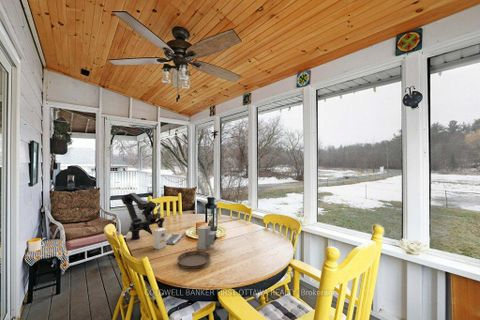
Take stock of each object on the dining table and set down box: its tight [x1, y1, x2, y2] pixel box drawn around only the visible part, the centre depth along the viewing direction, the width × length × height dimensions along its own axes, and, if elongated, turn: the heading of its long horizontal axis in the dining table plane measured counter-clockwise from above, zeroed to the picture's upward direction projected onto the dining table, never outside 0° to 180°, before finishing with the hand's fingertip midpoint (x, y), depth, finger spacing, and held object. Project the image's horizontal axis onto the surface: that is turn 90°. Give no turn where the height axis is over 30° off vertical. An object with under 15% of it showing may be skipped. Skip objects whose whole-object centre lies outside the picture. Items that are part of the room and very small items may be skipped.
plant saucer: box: [176, 250, 211, 269], centre depth 136 cm, size 21×21×3 cm
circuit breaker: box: [196, 224, 218, 251], centre depth 160 cm, size 8×14×15 cm, turn 78°
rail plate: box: [166, 232, 185, 246], centre depth 175 cm, size 12×20×2 cm, turn 175°
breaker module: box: [152, 227, 167, 250], centre depth 159 cm, size 7×6×13 cm
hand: (157, 232), depth 162 cm, fingers open, 9 cm apart
